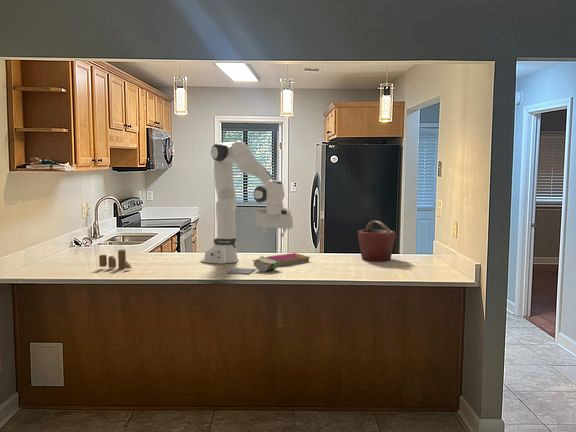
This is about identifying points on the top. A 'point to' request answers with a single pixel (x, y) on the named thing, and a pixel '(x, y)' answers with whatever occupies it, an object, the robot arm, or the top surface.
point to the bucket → (376, 243)
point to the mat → (241, 271)
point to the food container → (266, 264)
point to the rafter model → (289, 259)
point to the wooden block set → (112, 260)
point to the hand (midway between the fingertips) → (273, 236)
